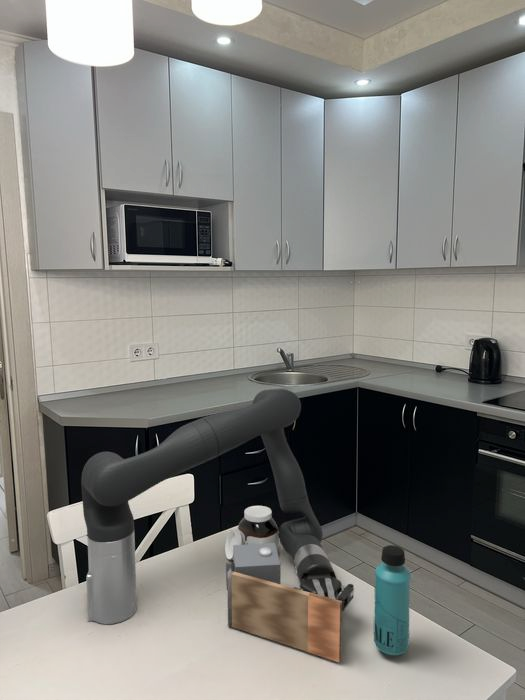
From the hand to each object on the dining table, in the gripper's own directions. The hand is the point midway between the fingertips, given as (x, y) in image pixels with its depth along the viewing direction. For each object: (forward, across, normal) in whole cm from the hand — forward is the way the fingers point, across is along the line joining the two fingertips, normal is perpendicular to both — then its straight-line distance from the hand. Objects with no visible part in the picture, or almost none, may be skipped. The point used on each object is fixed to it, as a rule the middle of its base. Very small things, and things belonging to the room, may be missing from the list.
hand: (333, 621), depth 93 cm
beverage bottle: (0, +11, +7) cm, 13 cm away
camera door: (-5, -9, +6) cm, 12 cm away
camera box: (-16, -13, +7) cm, 21 cm away
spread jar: (-37, -12, +7) cm, 40 cm away
